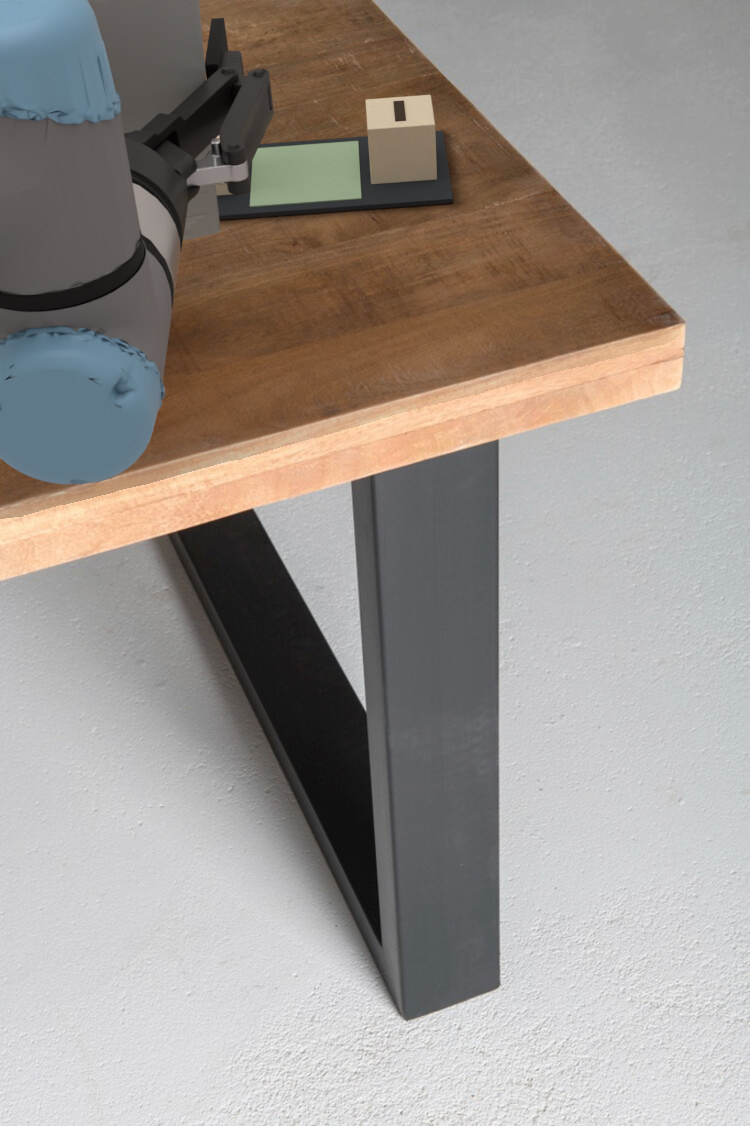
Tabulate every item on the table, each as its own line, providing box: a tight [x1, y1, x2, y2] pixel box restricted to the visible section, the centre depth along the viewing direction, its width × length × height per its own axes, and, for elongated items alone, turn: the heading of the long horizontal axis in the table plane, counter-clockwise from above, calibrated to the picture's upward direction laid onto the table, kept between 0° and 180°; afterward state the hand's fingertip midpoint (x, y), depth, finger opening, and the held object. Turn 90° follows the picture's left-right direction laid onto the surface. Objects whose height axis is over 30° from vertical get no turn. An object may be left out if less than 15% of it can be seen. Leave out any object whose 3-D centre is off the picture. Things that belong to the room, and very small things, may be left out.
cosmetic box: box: [87, 0, 222, 241], centre depth 83 cm, size 8×7×16 cm
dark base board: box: [216, 94, 454, 221], centre depth 108 cm, size 22×11×5 cm, turn 92°
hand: (147, 45), depth 86 cm, fingers closed on cosmetic box, 8 cm apart
